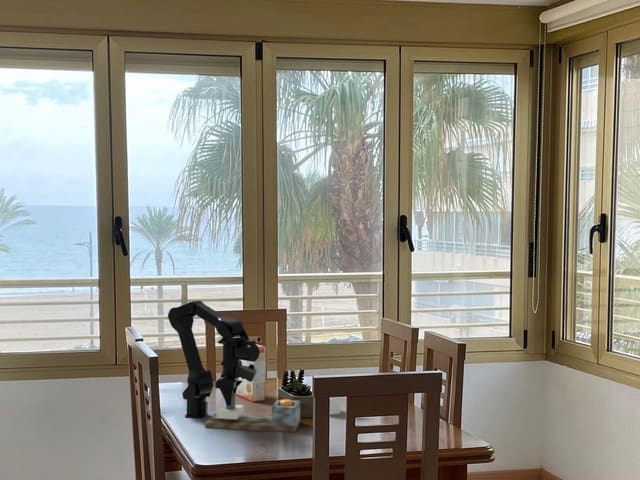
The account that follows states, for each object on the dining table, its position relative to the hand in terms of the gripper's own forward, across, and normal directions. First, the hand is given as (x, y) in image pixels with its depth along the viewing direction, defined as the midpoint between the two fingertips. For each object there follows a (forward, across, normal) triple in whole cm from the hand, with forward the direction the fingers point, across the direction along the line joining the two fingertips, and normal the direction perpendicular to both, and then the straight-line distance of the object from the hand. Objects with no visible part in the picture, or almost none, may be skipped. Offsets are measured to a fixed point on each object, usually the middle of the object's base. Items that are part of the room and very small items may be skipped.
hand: (230, 404), depth 237 cm
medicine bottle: (+7, +20, -31) cm, 37 cm away
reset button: (+1, 0, -19) cm, 19 cm away
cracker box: (+7, +37, +1) cm, 38 cm away
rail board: (+6, 0, -8) cm, 10 cm away
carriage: (+4, 0, 0) cm, 4 cm away
